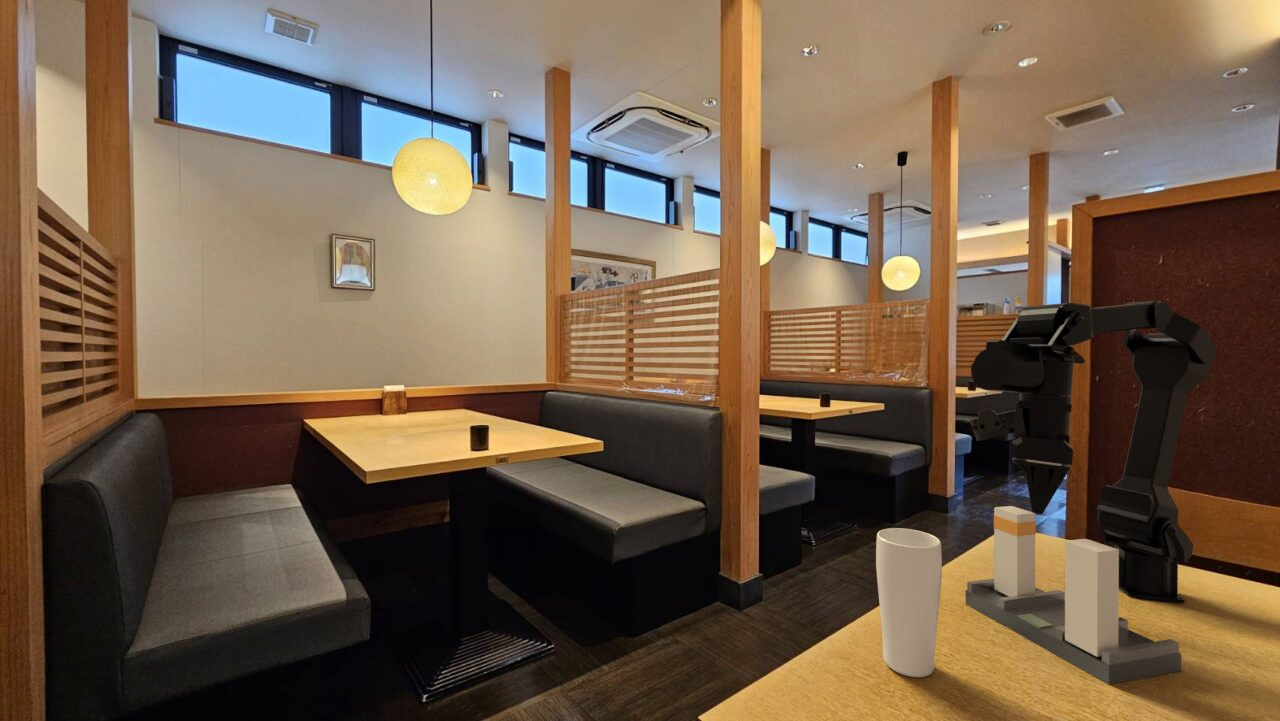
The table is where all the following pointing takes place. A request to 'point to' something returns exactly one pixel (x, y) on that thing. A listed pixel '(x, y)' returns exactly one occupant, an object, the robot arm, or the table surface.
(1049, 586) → the table surface
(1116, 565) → the on lever
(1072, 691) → the table surface
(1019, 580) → the lever
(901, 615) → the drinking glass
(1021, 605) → the box
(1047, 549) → the table surface
